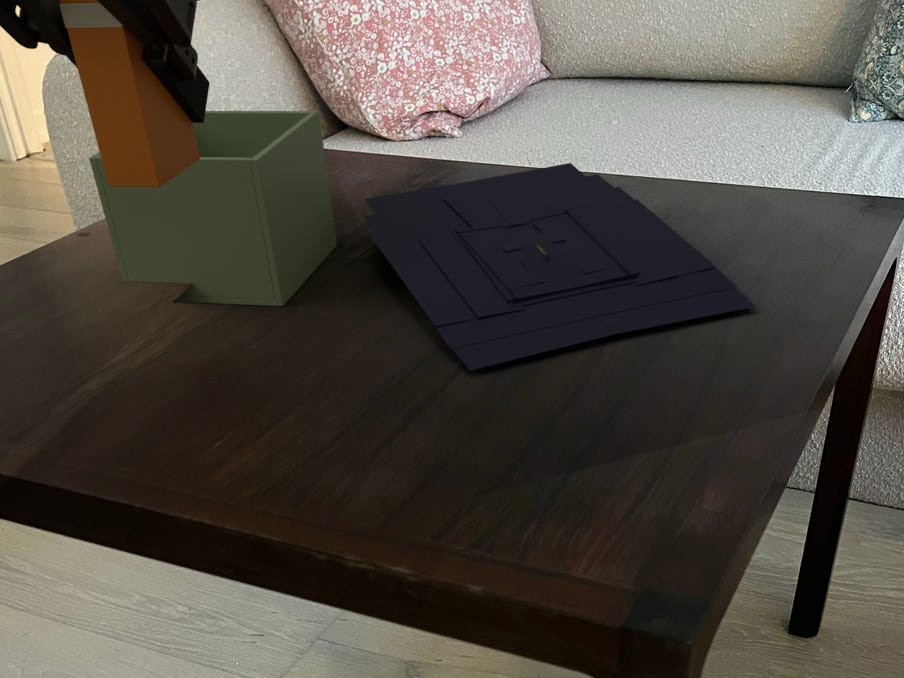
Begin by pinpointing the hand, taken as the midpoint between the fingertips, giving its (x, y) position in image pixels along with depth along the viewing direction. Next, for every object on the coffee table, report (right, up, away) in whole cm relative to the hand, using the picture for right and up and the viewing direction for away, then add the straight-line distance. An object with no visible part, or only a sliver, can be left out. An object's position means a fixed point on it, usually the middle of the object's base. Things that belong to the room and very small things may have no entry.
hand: (170, 102), depth 67 cm
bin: (-2, -2, +26) cm, 26 cm away
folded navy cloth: (+25, -4, +22) cm, 33 cm away
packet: (-1, -5, -1) cm, 5 cm away
